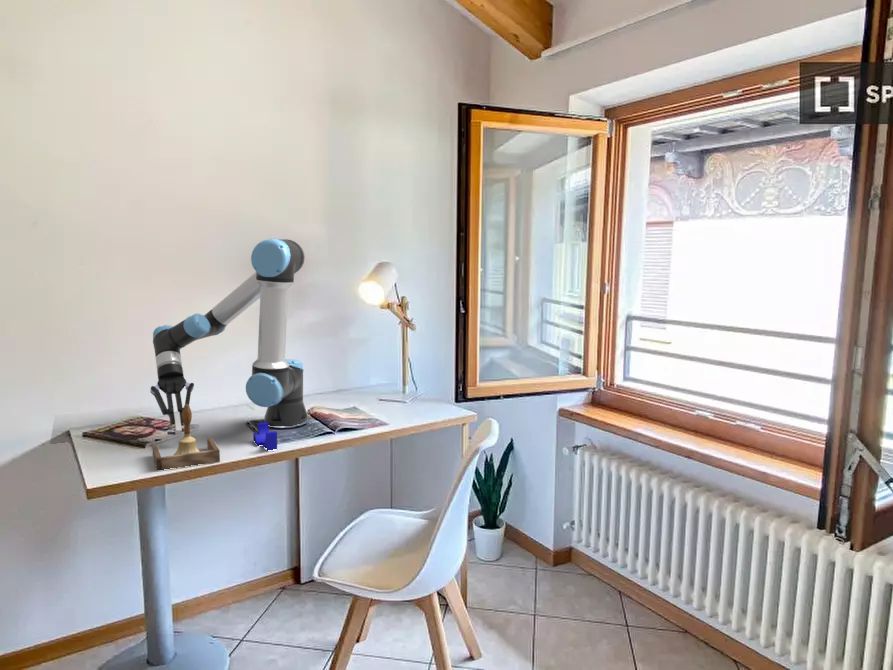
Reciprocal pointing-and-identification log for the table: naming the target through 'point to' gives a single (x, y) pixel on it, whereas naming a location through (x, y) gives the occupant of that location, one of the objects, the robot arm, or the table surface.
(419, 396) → the table surface
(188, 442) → the hand bell
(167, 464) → the walnut corral
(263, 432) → the cable clip
